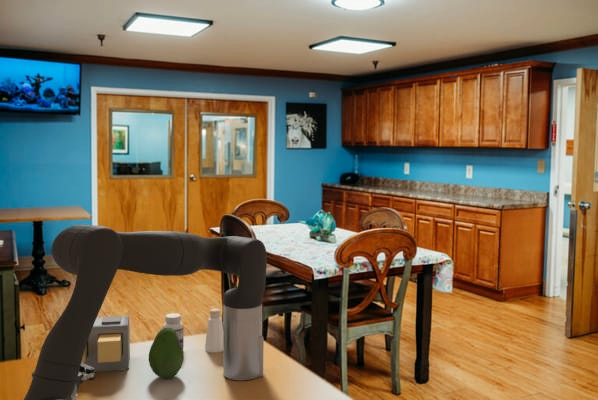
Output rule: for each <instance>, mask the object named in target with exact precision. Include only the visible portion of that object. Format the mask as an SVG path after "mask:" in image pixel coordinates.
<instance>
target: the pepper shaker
mask: <svg viewBox="0 0 598 400" xmlns="http://www.w3.org/2000/svg"><path fill="white" fill-rule="evenodd" d="M220 315H221V309H220V308H215V307H214V308H211V309H209V317H208V319H207V327H206V336H205V344H204V345H205V346H204V350H205V351H206V352H208V353H212V354H214V353H215V354H216V353H221V352H222V353H223V319H222V318H221V316H220Z"/></svg>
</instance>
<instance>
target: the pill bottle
mask: <svg viewBox="0 0 598 400" xmlns="http://www.w3.org/2000/svg"><path fill="white" fill-rule="evenodd" d="M164 318H165V319H164V320H165V322H164V323H163V325H162V329H164V328H170V327H171V328H172V329H173V330H174V331H175V332H176V334H177V336H178V339H179V341H180V344H181V346H182V349H183V350H184V347H185V345H184V323H183V322H181V320H182V317H181V314H180V313H176V312H175V313H174V312H173V313H172V312H171V313H167V314H166V315H165V317H164Z"/></svg>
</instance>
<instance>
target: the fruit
mask: <svg viewBox="0 0 598 400" xmlns="http://www.w3.org/2000/svg"><path fill="white" fill-rule="evenodd" d="M149 349H150V350H149V352H148V363H149V366H150V369H151V370H152V372H153V373H154V374H155V375H156V376H157V377H159V378H160V379H164V380H171V379H173V378H174V377H176V376H177V375H178V373H179V371H180V370H181V369H182V366H183V363H184V348H183V349H182V346H181V344H180V341H179V339H178V336H177V334H176V332H175V331H174V330H173V329H172V328H171V327H170V328H164V329H163V328H162V329H160V331H159V332H158V333H157V334H156V336H155V337H154V340H153V342H152V344H151V345H150V348H149Z"/></svg>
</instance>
